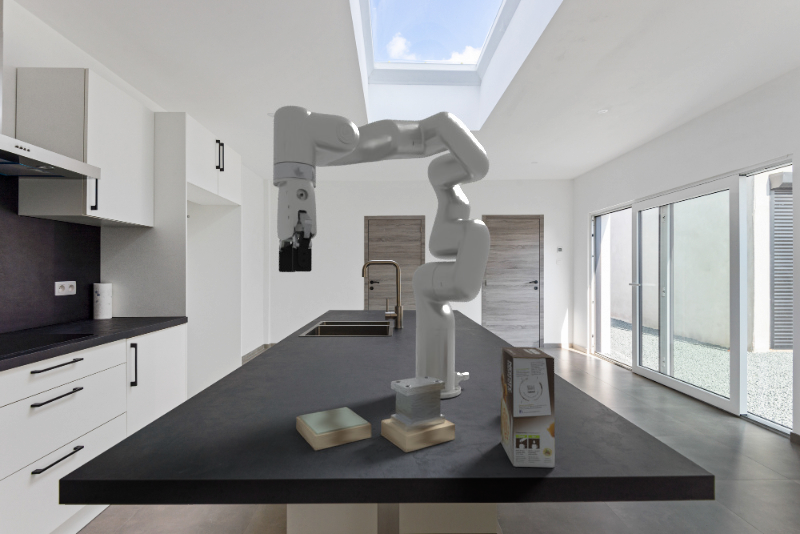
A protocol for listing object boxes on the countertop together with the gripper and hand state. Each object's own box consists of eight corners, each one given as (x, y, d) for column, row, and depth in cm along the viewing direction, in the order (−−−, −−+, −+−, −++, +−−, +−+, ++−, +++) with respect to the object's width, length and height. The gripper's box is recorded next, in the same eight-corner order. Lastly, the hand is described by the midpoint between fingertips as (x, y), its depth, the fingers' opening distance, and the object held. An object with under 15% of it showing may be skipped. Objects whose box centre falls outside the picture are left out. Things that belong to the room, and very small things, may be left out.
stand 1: (347, 418, 75) (347, 406, 75) (371, 437, 66) (371, 422, 66) (296, 429, 69) (296, 415, 69) (315, 450, 61) (315, 434, 61)
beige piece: (427, 423, 72) (427, 410, 72) (454, 439, 66) (455, 424, 66) (381, 434, 67) (381, 420, 67) (406, 452, 60) (406, 436, 60)
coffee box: (557, 468, 56) (556, 357, 56) (512, 467, 56) (512, 356, 56) (536, 441, 65) (536, 346, 65) (498, 441, 65) (498, 346, 66)
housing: (427, 413, 71) (428, 375, 71) (444, 422, 66) (445, 381, 67) (390, 422, 66) (391, 381, 67) (406, 431, 62) (406, 388, 62)
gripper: (331, 169, 64) (330, 271, 64) (301, 189, 79) (301, 272, 79) (285, 163, 61) (285, 271, 60) (263, 185, 75) (263, 272, 75)
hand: (294, 271), depth 69 cm, fingers open, 9 cm apart
